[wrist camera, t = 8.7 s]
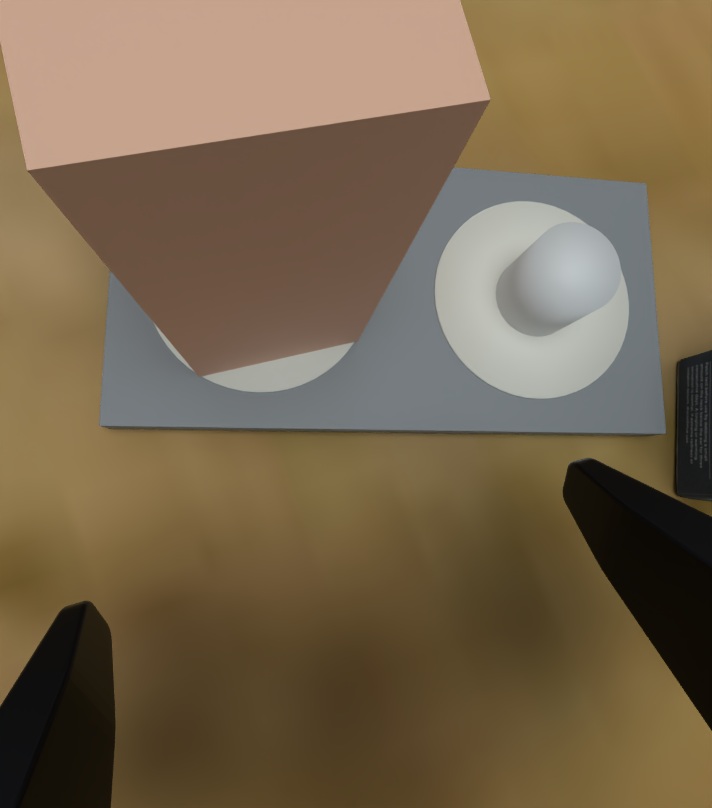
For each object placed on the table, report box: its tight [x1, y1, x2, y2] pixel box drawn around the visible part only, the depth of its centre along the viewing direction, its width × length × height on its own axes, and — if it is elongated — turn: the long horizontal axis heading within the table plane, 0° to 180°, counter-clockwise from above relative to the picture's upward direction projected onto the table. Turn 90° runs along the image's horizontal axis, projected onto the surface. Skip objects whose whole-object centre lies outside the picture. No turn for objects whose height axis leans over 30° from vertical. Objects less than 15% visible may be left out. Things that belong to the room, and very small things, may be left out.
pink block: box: [0, 0, 491, 377], centre depth 12 cm, size 6×6×12 cm
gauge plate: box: [99, 167, 666, 436], centre depth 18 cm, size 10×20×4 cm, turn 90°
